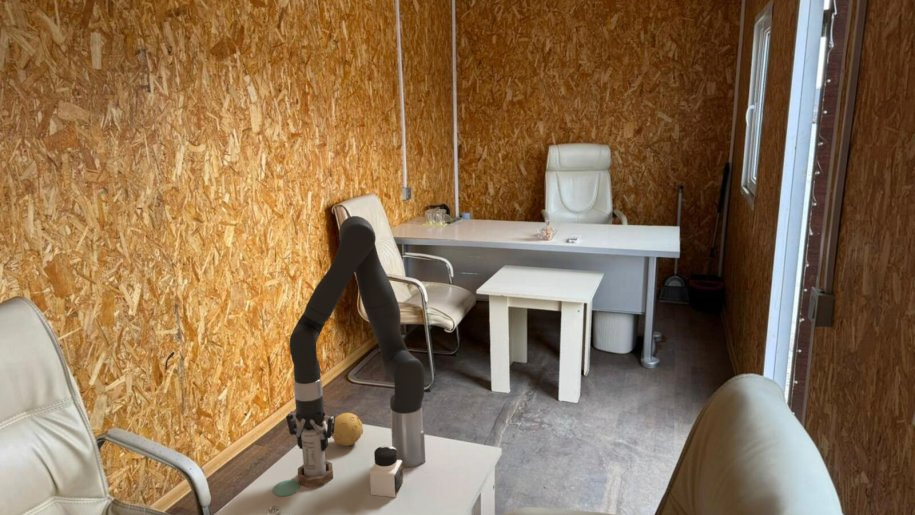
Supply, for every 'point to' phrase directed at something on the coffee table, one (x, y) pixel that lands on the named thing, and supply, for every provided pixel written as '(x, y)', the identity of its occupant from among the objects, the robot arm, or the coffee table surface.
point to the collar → (315, 480)
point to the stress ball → (347, 429)
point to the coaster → (286, 488)
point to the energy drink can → (312, 453)
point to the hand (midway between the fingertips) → (313, 448)
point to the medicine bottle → (386, 472)
